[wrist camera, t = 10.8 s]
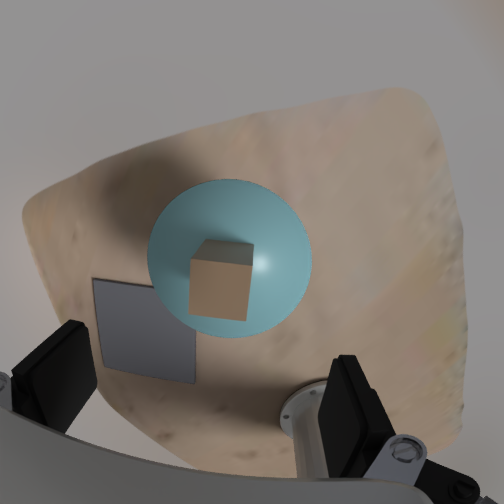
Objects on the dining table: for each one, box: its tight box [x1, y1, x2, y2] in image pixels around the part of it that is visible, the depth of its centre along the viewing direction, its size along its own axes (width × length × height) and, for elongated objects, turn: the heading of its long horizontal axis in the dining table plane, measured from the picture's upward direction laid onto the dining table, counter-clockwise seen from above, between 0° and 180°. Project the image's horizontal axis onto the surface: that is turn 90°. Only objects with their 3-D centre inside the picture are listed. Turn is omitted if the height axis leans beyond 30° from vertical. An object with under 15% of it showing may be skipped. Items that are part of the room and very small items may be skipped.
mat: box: [93, 279, 196, 384], centre depth 36 cm, size 13×13×1 cm
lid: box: [147, 179, 312, 338], centre depth 20 cm, size 12×12×6 cm
